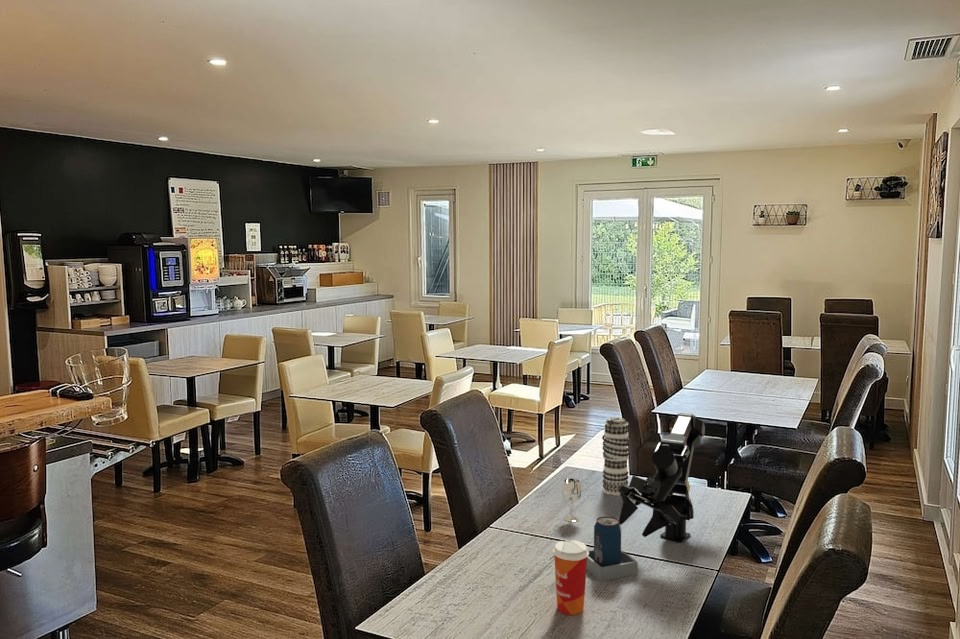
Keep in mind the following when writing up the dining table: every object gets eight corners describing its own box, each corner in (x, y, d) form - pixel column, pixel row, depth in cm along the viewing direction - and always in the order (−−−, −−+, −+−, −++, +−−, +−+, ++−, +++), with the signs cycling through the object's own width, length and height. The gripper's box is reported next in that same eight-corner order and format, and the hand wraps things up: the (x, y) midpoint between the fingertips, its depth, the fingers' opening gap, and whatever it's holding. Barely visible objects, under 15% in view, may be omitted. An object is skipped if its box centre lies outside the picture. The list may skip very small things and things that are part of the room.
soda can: (623, 561, 187) (623, 517, 186) (617, 573, 181) (618, 527, 180) (597, 557, 190) (597, 513, 189) (590, 568, 184) (591, 523, 182)
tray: (615, 557, 192) (616, 545, 192) (637, 574, 182) (637, 561, 182) (580, 563, 188) (580, 551, 188) (600, 581, 179) (600, 568, 178)
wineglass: (580, 523, 215) (580, 484, 213) (561, 522, 216) (561, 483, 215) (581, 516, 220) (581, 478, 219) (562, 514, 222) (563, 477, 220)
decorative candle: (601, 495, 238) (602, 421, 236) (601, 485, 247) (602, 414, 245) (629, 496, 237) (630, 422, 234) (628, 486, 246) (629, 415, 243)
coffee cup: (549, 600, 169) (549, 539, 168) (583, 598, 170) (584, 538, 168) (556, 619, 161) (556, 555, 159) (592, 617, 162) (592, 553, 160)
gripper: (624, 455, 197) (591, 501, 193) (673, 474, 181) (639, 525, 177) (645, 478, 202) (614, 523, 197) (695, 499, 185) (662, 549, 181)
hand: (631, 529), depth 188 cm, fingers open, 9 cm apart
